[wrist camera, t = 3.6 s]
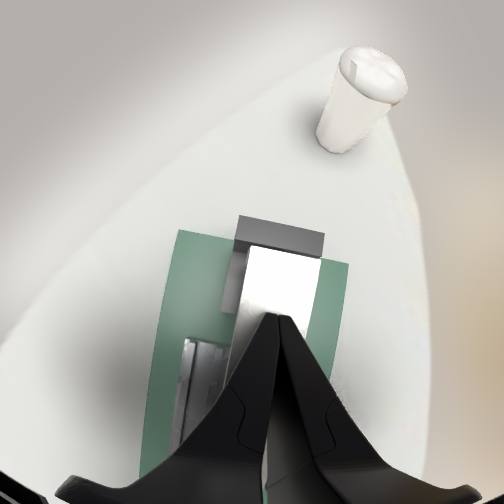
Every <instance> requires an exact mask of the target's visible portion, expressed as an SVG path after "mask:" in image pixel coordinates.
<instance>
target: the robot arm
mask: <svg viewBox="0 0 504 504" xmlns="http://www.w3.org/2000/svg"><path fill="white" fill-rule="evenodd" d="M336 395H337V394H336V392H335V391H334V389H333V387H332V386H331V384H330V382H329V380H328V379H327V377H326V375H325V374H324V372H323V370H322V368H321V367H320V365H319V363H318V362H317V360H316V358H315V356H314V355H313V353H312V351H311V350H310V348H309V346H308V345H307V343H306V341H305V339H304V338H303V336H302V334H301V333H300V331H299V329H298V327H297V326H296V324H295V322H294V321H293V319H292V317H291V316H289V315H284V314H277V313H272V312H265V313H264V315H263V317H262V319H261V321H260V323H259V325H258V326H257V328H256V330H255V332H254V334H253V336H252V338H251V340H250V341H249V343H248V345H247V347H246V349H245V351H244V352H243V354H242V356H241V358H240V360H239V362H238V363H237V365H236V367H235V369H234V371H233V372H232V374H231V376H230V378H229V380H228V381H227V384H226V385H225V386H224V388H223V390H222V392H221V393H220V395H219V397H218V398H217V400H216V401H215V403H214V405H213V406H212V407H211V409H210V410H209V411H208V413H207V414H206V415H205V416H204V418H203V419H202V420H201V421H200V423H199V424H198V425H197V426H196V427H195V428H194V430H193V431H192V432H191V433H190V434H189V436H188V437H187V438H186V439H185V440H184V441H183V443H182V444H181V445H180V446H179V447H178V448H177V449H176V450H175V451H174V452H173V453H172V454H171V455H170V456H169V457H168V458H167V459H165V460H164V461H163V462H161V463H160V464H159V465H157V466H156V467H155V468H153V469H152V470H151V471H149V472H148V473H146V474H145V475H144V476H142V477H141V478H139V479H138V480H137V481H135V482H134V483H132V484H131V485H129V486H127V487H123V488H110V487H106V486H103V485H101V484H98V483H95V482H93V481H90V480H88V479H85V478H82V477H79V476H75V475H71V476H70V477H69V478H68V479H67V480H66V481H65V482H64V483H63V484H62V485H61V486H60V487H59V488H58V490H57V491H56V493H55V496H56V497H58V498H59V499H61V500H63V501H65V502H67V503H69V504H264V503H263V488H262V463H263V455H264V451H265V445H266V438H267V488H268V489H267V504H473V503H475V502H477V501H479V500H481V499H482V496H481V494H480V493H479V492H478V491H477V490H476V489H474V488H472V487H471V486H469V485H463V486H460V487H457V488H454V489H443V488H439V487H436V486H433V485H431V484H428V483H426V482H424V481H421V480H419V479H417V478H414V477H412V476H410V475H408V474H405V473H403V472H401V471H399V470H397V469H395V468H393V467H391V466H390V465H389V464H387V463H386V462H385V461H384V460H383V459H382V458H381V457H380V456H379V454H378V453H377V452H376V451H375V449H374V448H373V447H372V445H371V444H370V443H369V441H368V440H367V439H366V437H365V436H364V435H363V434H362V432H361V431H360V430H359V428H358V427H357V425H356V424H355V423H354V421H353V420H352V418H351V417H350V415H349V414H348V412H347V411H346V409H345V407H344V406H343V404H342V402H341V401H340V399H339V397H338V396H336ZM0 504H49V503H48V501H47V500H46V498H45V497H44V496H42V495H40V494H38V493H36V492H35V491H33V490H31V489H29V488H28V487H26V486H24V485H23V484H21V483H19V482H18V481H16V480H14V479H13V478H11V477H10V476H8V475H7V474H5V473H4V472H2V471H1V470H0ZM483 504H504V494H502V495H500V496H498V497H496V498H494V499H492V500H490V501H488V502H485V503H483Z"/></svg>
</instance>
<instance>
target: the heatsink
mask: <svg viewBox="0 0 504 504" xmlns="http://www.w3.org/2000/svg"><path fill="white" fill-rule="evenodd" d="M230 349H231V345H230V344H224V343H219V342H214V341H209V340H204V339H199V338H194V337H190V336H188V337H187V338H186V339H185V343H184V349H183V355H182V360H181V366H180V372H179V378H178V385H177V391H176V397H175V404H174V411H173V418H172V425H171V432H170V439H169V447H168V455H167V458H168V457H169V456H170V455H171V454H172V453H173V452H174V451H175V450H176V449H177V448H178V447H179V446H180V445H181V444H182V443H183V441H184V440H185V439H186V438H187V437H188V436H189V434H190V433H191V432H192V431H193V430H194V428H195V427H196V426H197V425H198V424H199V423H200V421H201V420H202V419H203V418H204V416H205V415H206V414H207V413H208V411H209V410H210V409H211V407H212V406H213V405H214V403H215V401H216V400H217V398H218V397H219V395H220V393H221V392H222V390H223V385H224V380H225V375H226V369H227V364H228V359H229V354H230ZM265 489H266V492H267V489H268V488H267V480H266V484H265Z"/></svg>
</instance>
